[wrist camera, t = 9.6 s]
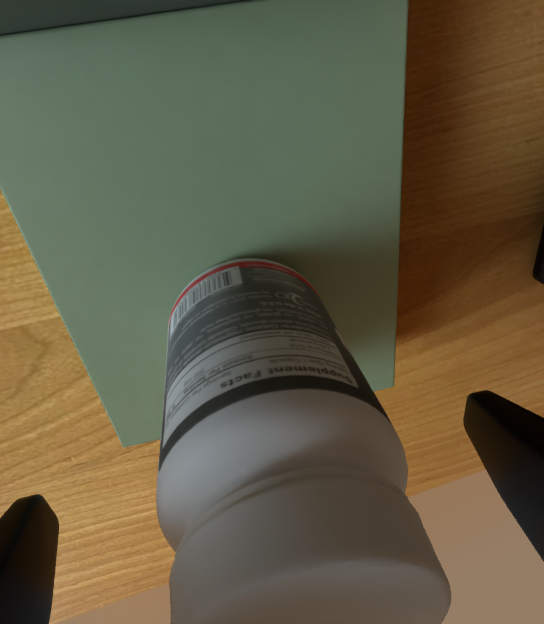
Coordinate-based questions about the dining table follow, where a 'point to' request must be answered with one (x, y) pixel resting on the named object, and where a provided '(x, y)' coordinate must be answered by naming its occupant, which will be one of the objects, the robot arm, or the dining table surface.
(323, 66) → the storage rack
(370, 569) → the pill bottle
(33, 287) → the dining table surface
